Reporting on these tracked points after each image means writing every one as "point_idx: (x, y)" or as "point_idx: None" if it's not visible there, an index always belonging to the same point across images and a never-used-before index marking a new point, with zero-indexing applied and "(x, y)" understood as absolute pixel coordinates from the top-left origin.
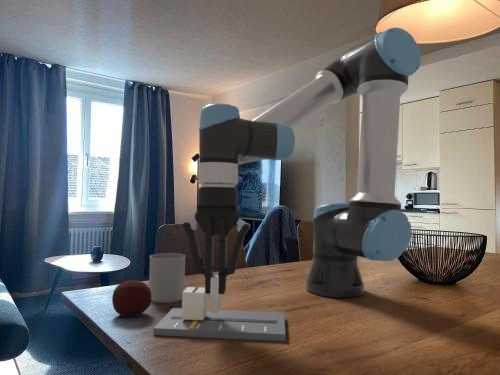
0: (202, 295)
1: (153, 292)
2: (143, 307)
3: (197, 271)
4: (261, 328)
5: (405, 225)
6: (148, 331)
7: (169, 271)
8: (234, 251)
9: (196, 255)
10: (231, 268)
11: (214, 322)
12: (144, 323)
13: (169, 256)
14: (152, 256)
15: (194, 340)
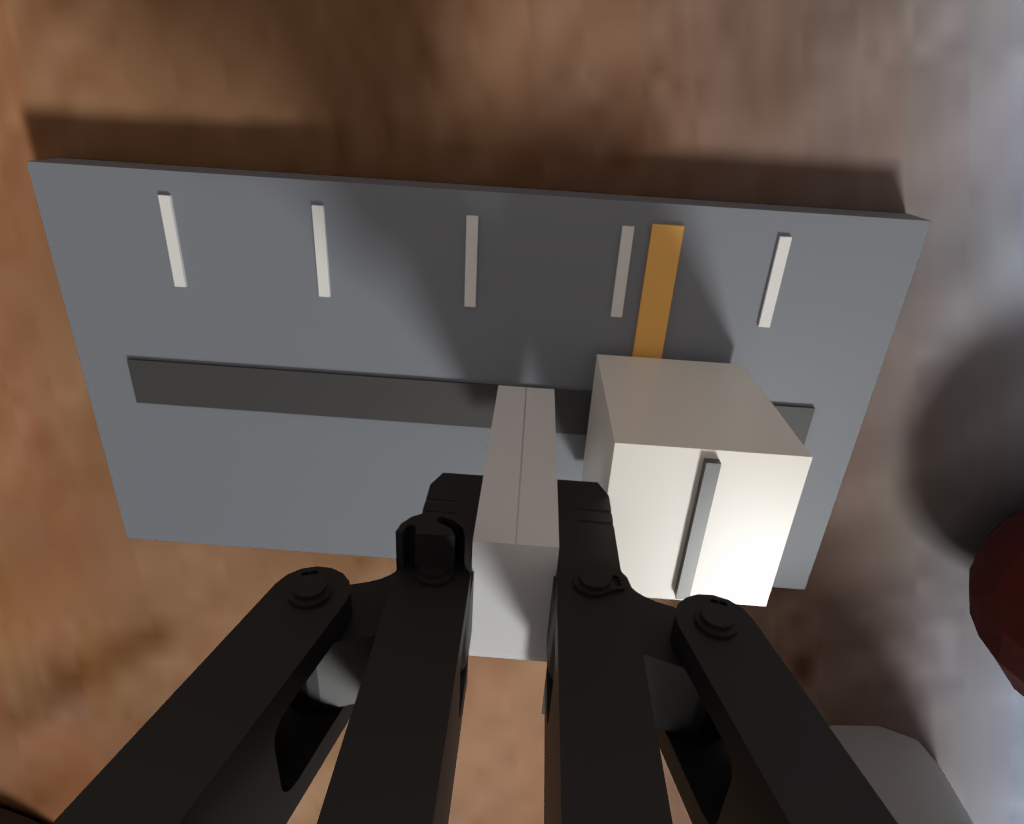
0: (622, 431)
1: (939, 786)
2: (1018, 527)
3: (724, 609)
4: (202, 259)
5: None
6: (939, 278)
7: None
8: None
9: (816, 803)
10: (298, 616)
11: (520, 353)
12: (965, 411)
13: None
14: None
15: (629, 138)
